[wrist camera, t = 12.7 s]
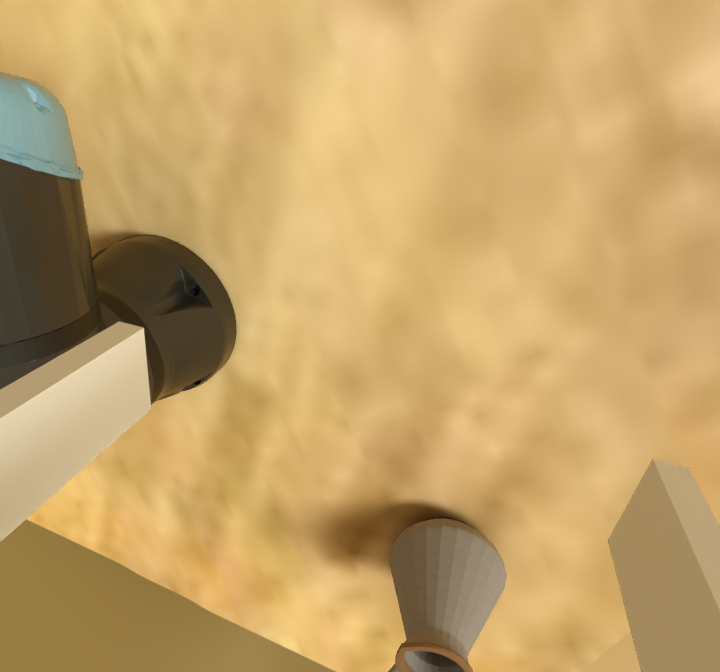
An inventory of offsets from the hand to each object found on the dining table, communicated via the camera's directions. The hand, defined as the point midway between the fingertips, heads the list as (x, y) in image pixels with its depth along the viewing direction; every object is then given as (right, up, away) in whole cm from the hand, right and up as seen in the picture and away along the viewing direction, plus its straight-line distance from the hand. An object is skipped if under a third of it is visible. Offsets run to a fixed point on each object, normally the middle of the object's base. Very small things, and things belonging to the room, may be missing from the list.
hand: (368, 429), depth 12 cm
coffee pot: (+6, -23, +40) cm, 46 cm away
